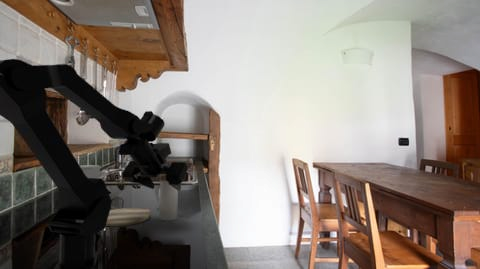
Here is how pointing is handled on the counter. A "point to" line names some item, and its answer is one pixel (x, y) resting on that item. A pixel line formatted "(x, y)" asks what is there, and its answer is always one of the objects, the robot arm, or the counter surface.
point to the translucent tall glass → (167, 200)
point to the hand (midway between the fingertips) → (166, 188)
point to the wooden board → (127, 216)
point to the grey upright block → (159, 199)
